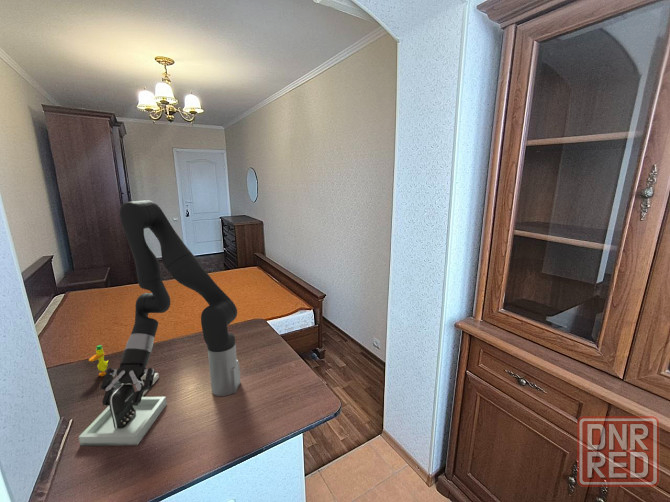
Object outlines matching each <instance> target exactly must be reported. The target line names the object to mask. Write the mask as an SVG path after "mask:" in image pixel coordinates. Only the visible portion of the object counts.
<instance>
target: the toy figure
mask: <svg viewBox="0 0 670 502" xmlns="http://www.w3.org/2000/svg"><path fill="white" fill-rule="evenodd" d="M103 348H104V347H103V345H102V344H99V345H96V348H95V352H96V354H94V355H92V356H91V357H89V359H88V361H89V363H90V362H94V361H97V360H98V363H97V365H96V366H97V370H98V371H100V372H99V374H98V376H99V377H105V375H106V371H107V370H108V365H109V364H108V362H109V360H105V354H106V353H105V352H104V349H103Z"/></svg>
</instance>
